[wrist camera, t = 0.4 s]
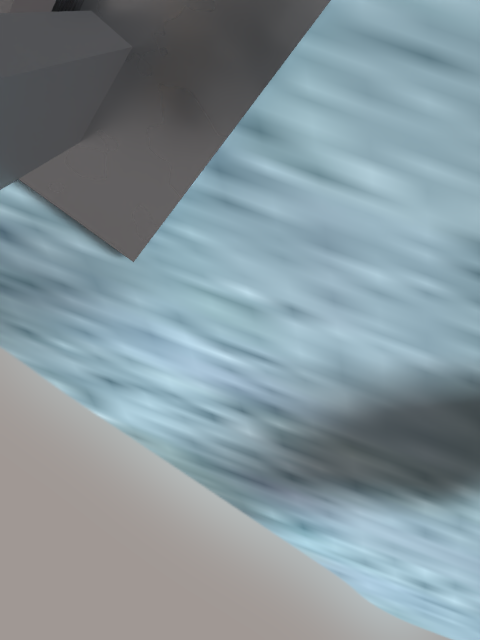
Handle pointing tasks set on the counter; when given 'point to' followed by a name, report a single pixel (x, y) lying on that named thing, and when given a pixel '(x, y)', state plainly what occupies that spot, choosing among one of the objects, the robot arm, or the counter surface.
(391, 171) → the counter surface
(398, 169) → the counter surface
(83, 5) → the breaker strip
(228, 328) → the counter surface
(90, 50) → the block
